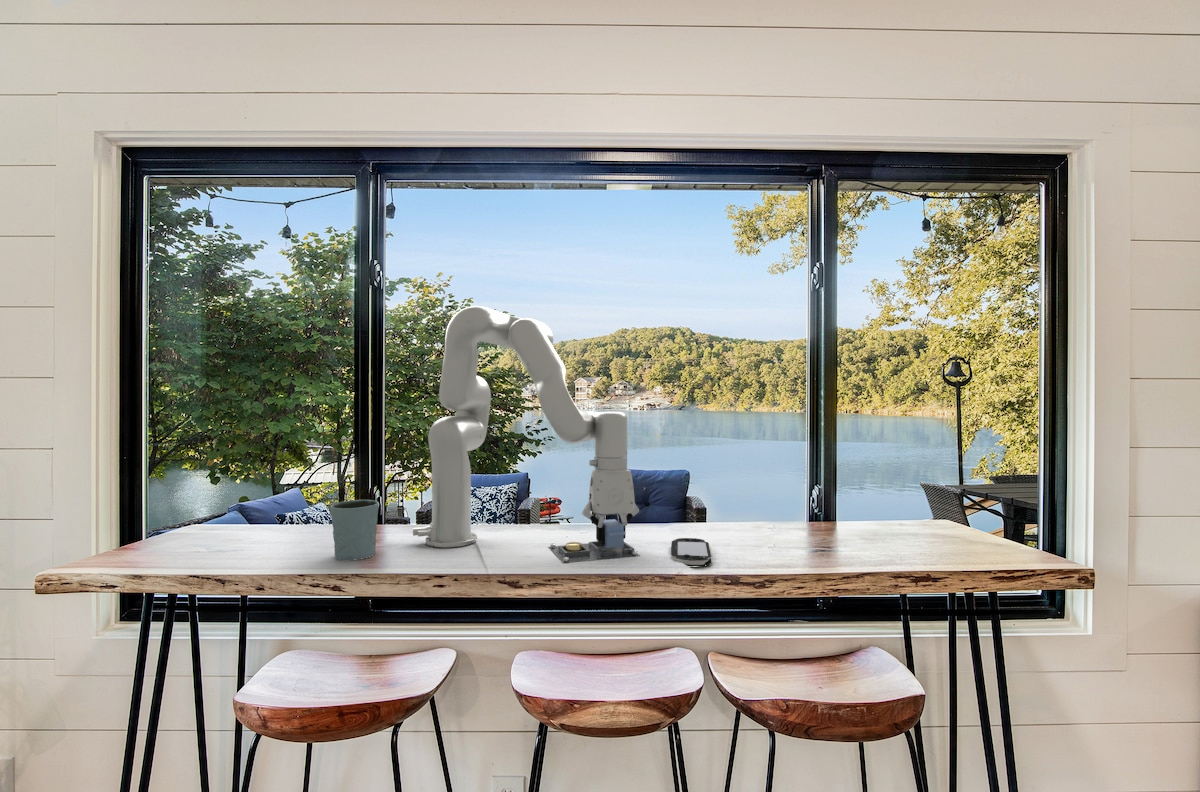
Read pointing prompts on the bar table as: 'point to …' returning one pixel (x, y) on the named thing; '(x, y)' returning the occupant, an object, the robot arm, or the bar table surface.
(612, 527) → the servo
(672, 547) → the gaming console
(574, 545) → the bushing
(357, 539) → the grey-green cup
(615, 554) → the plate
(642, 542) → the bar table surface
